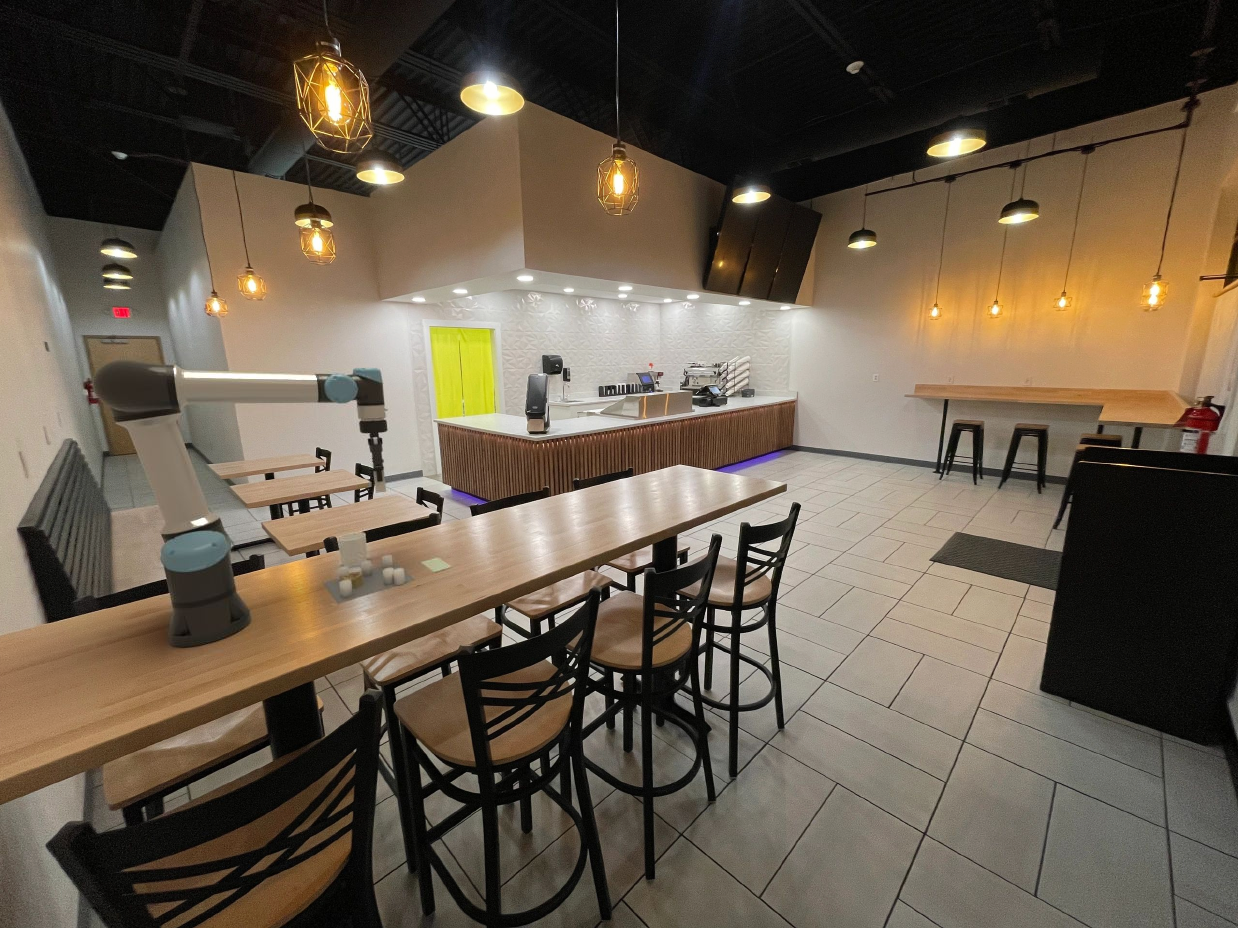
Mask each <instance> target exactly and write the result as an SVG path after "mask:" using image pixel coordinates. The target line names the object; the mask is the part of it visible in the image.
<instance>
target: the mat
mask: <svg viewBox="0 0 1238 928" xmlns="http://www.w3.org/2000/svg"><path fill="white" fill-rule="evenodd" d="M420 563H421V564H422V565H424V566H425V567H426V568H428V569H429V570H431V571H432V573H433V572H434V573H435V574H436V573H439V572H442V571H445V570H449V569H452V568H453V567H452V566H451V565H450V564H448V563H447V562H445V561H444V560H442V559H441V558H439V557H435V558H431V559H427V560H424V561H420Z"/></svg>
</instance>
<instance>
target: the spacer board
mask: <svg viewBox="0 0 1238 928" xmlns="http://www.w3.org/2000/svg"><path fill="white" fill-rule="evenodd" d="M381 560H382V561H381V562H382V566H378V567H375V568H372V567H373V566H372V561H371V559H369V560H368V559H367V560H365V561H362V562H361V563H360V564H361V565H360V568H361V569H360V570H361V571H359V572H360V573H361V574H362V576H363V585H362V586H360V587H358V588H355V589H352V583H351V580H350V579H347V580H343V576H345V575H347V574H349V573H350V567H348V566H344V565H343V566H340V567H337V574H338V575H337V576H338V577H337V578H334V579H330V580H327V581H324V582H322V584H323V585H324V586H325V588H326V589H327V590H328V592H329V593H330V595H331V597H333V599H334V600H335V602H336V603H337V604H340V603H341V604H342V603H344V602H348V601H351V600H355V599H358V598H361V597H364V596H368V595H370V594H374V593H376V592H381V591H384V590H386V589H390V588H393V587H397V586H401V585H404V584H407V583H410V582H413V581H416V578H414V577H413V576H412V575H411V574H410V573H408V572H407V571H405V569H404V568H403V567H401V566H400V565H399V564H397V563H396V562H394V560H393V555H392V554H385V555H383V556H381Z"/></svg>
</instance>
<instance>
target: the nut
mask: <svg viewBox="0 0 1238 928" xmlns="http://www.w3.org/2000/svg"><path fill="white" fill-rule="evenodd" d="M360 572H361V571H356V572H349V574H347V575H345V576H343V580H347V579H350V580H351V583H352V589H355V588H358V587H360V586H362V585H363V576H362V574H361V573H360Z"/></svg>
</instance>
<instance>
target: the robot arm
mask: <svg viewBox="0 0 1238 928" xmlns="http://www.w3.org/2000/svg"><path fill="white" fill-rule="evenodd" d="M91 386H92V387H91V388H92V390H93V391H94V394H95V395H96V397H97V399H99V400H100V401H101V402H102V403H103V404H105V406H108V409H109V411H110V413H111V416H112V418H113V420H114V423H115V424H116V425H118V426H120V427H123V428H125V429H126V430H127V432H128V434H129V436H130V438H131V441H132V444H133V446H134V448H135V451H136V454H137V456H138V458H139V461H140V464H141V467H142V469H143V471H144V474H145V475H146V478H147V481H148V483H149V486H150V487H151V490H152V493H153V496H154V498H155V500H156V503H157V506H158V508H159V510H160V513H161V515H162V517H163V521H164V523H165V524H164V525H163V526H162V528H161V529H160V531H159V532H160V535H161V538H162V540H163V543H164V544H163V545H162V547H161V548H160V557H159V558H160V559H159V560H160V562H161V564H162V565H163V570H164V574H165V579H166V583H167V588H168V593H169V598H170V600H171V606H172V611H171V612H172V613H171V617H170V622H169V627H168V629H167V636H168V641H169V644H170V645H171V646H173V647H176V648H177V647H180V648H187V647H189V648H190V647H195V646H201V645H206V644H208V643H209V644H210V643H213V642H216V641H220V640H222V639H225V638H227V637H229V636H232V635H234V634H236V633H237V632H239V631H241V630H243V629H244V628H245V627H247V626H248V625H249V624H250V623H251V621H252V616H251V611H250V609H249V607H248V605H247V604H246V603H245V601H244V600H243V599H242V597H241V596H240V595H239V593H238V591H237V586H236V582H235V576H234V571H233V566H232V561H231V559H232V558H231V549H232V541H231V538H230V536H229V534H228V533H227V531H226V530H225V527H224V525H223V522H222V518H221V517H220V515H219V514H217V513H213V512H211V511H210V509H209V506H208V503H207V500H206V498H205V495H204V493H203V490H202V488H201V484H200V483H199V479H198V477H197V473H196V471H195V469H194V466H193V463H192V461H191V458H190V455H189V452H188V449H187V448H186V445H185V441H184V439H183V437H182V436H183V435H182V434H181V431H180V429H179V426H178V423H177V421H178V419H179V418H180V417H181V415H182V411H181V409H183V408H185V407H186V406H187V405H195V404H196V405H202V404H203V405H206V404H208V405H209V404H211V405H212V404H214V405H215V404H217V405H219V404H305V403H306V404H311V403H312V404H313V403H314V404H315V403H317V404H318V403H319V404H327V403H328V404H348V403H350V402H351V401H355V402H356V411H357V418H358V420H359V421H358V426H359V432H360V434H365V435H366V434H368V436H369V438H367V443H368V444H367V445H368V446H369V452H370V453H371V462H372V468H371V471H370V472H373V480H374V485H375V487H374V488H375V493H386V492H387V487H386V485H387V484H386V479H385V470H384V469H385V466H384V462H385V461H384V459H383V455H382V453H383V451H384V449H383V438H382V437H380V434H379V433H381V434H382V433H386V432H388V430H389V429H388V421H387V420H386V419H385V418H386V417H387V415H386V412H388V409H389V408H387V407H386V404H385V395H384V382H383V377H382V372H381V370H380V368H377V367H355V368H353V369H352V374H345V373H305V372H304V373H303V372H301V373H300V372H299V373H298V372H273V371H272V372H270V371H269V372H268V371H267V372H266V371H233V370H231V371H229V370H227V371H226V370H198V369H197V370H196V369H193V370H192V369H190V370H189V369H183V368H181V367H179V366H178V365H177V364H158V363H149V362H145V361H143V360H142V361H141V360H135V359H117V360H113V361H109V362H106V363H105V364H103V365H102V366H100V367H99V368H98V369H97V370H96V371H95V373H94V374H93V377H92V383H91Z"/></svg>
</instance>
